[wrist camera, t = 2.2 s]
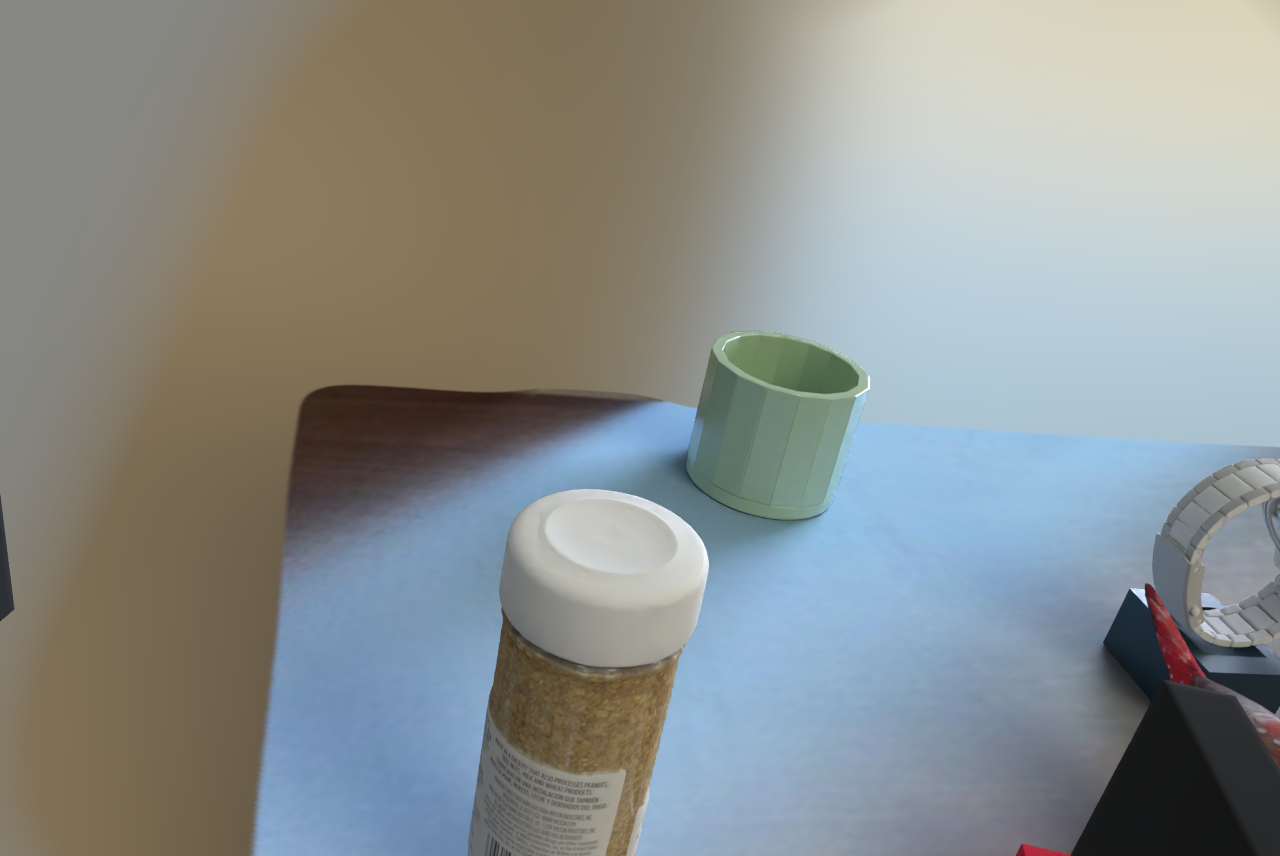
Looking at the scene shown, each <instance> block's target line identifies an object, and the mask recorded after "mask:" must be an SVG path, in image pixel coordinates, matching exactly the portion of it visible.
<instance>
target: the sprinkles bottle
mask: <svg viewBox="0 0 1280 856" xmlns="http://www.w3.org/2000/svg"><path fill="white" fill-rule="evenodd" d="M708 570H709V560H708V555H707V551H706V548H705V546H704V544H703V542H702V540H701V539H700V537H699V536H698V534H697V533H696V532H695V531H694V530H693V529H692V527H691V526H690V525H688V524H687V523H686V522H685V521H684V520H682V519H681V518H680V517H678V516H677V515H675V514H674V513H673V512H671V511H669V510H667V509H666V508H664V507H662V506H660V505H658V504H656V503H653V502H651V501H649V500H646V499H643V498H640V497H637V496H633V495H629V494H625V493H620V492H614V491H608V490H596V489H578V490H570V491H563V492H558V493H554V494H551V495H547V496H545V497H542V498H540V499H538V500H536V501H534V502H532V503H531V504H529V505H528V506H526V507H525V508H524V509H523V510H522V511H521V512H520V513H519V514H518V515H517V516H516V518H515V519H514V521H513V523H512V524H511V527H510V530H509V533H508V538H507V544H506V550H505V556H504V562H503V568H502V574H501V581H500V600H501V604H502V609H501V612H502V615H503V625H502V630H501V637H500V643H499V650H498V657H497V664H496V669H495V675H494V683H493V686H492V689H491V692H490V695H489V701H488V707H487V714H486V721H485V728H484V735H483V742H482V749H481V756H480V764H479V772H478V778H477V785H476V792H475V799H474V807H473V813H472V820H471V827H470V834H469V842H468V856H635V852H636V849H637V845H638V841H639V837H640V833H641V829H642V823H643V819H644V815H645V811H646V807H647V803H648V799H649V791H650V779H651V776H652V771H653V767H654V764H655V760H656V754H657V751H658V748H659V743H660V738H661V734H662V731H663V725H664V722H665V719H666V714H667V709H668V705H669V701H670V698H671V693H672V688H673V684H674V678H675V674H676V670H677V665H678V658H679V656H680V654H681V653H682V651H683V649H684V647H685V645H686V643H687V642H688V640H689V639H690V638H691V636H692V634H693V632H694V630H695V628H696V624H697V620H698V617H699V613H700V609H701V604H702V600H703V595H704V590H705V585H706V580H707V575H708Z"/></svg>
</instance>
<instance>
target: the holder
mask: <svg viewBox="0 0 1280 856" xmlns="http://www.w3.org/2000/svg"><path fill="white" fill-rule="evenodd" d="M869 383H870V378H869V376H868V375H867V374H866V372H865V371H864V370H863V369H862V368H861V366H860V365H859V364H857V363H856V362H854V361H853V360H851V359H849V358H848V357H846V356H845V355H843V354H841V353H840V352H838V351H836V350H833V349H831V348H828V347H826V346H824V345H821V344H819V343H816V342H813V341H810V340H805V339H802V338H798V337H794V336H790V335H786V334H780V333H771V332H763V331H740V332H731V333H729V334H726V335H724V336H721V337H719V338H717V339H716V341H715V343H714V345H713V347H712V349H711V353H710V357H709V362H708V366H707V371H706V375H705V379H704V384H703V388H702V392H701V396H700V401H699V405H698V409H697V414H696V418H695V422H694V427H693V431H692V435H691V440H690V444H689V448H688V457H687V461H686V467H687V471H688V474H689V476H690V478H691V479H692V481H693V482H694V483H695V484H696V485H697V486H698V487H699V488H700V489H701V490H702V491H703V492H705V493H706V494H707V495H709V496H710V497H712V498H713V499H715V500H717V501H719V502H720V503H722V504H724V505H726V506H729V507H731V508H733V509H736V510H739V511H741V512H745V513H748V514H751V515H755V516H759V517H765V518H771V519H780V520H798V519H806V518H810V517H814V516H817V515H819V514H821V513H823V512H824V511H826V510H827V509H828V508H829V507H830V506H831V504H832V502H833V499H834V496H835V494H836V493H837V490H838V487H839V484H840V481H841V477H842V474H843V471H844V468H845V465H846V461H847V458H848V455H849V452H850V449H851V445H852V442H853V439H854V436H855V433H856V429H857V426H858V423H859V420H860V417H861V413H862V410H863V407H864V404H865V401H866V398H867V394H868V391H869Z"/></svg>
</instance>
